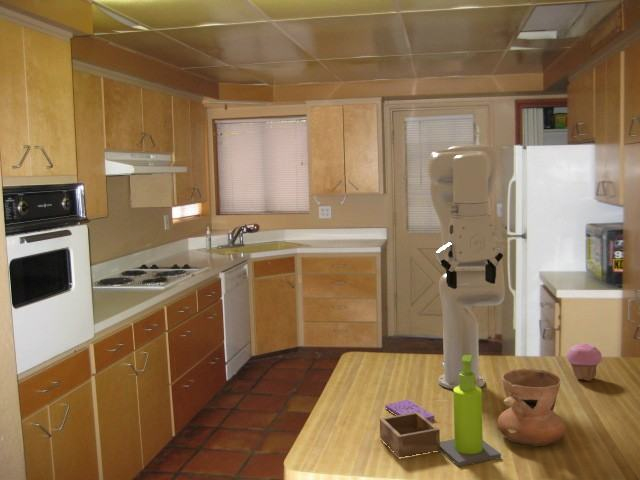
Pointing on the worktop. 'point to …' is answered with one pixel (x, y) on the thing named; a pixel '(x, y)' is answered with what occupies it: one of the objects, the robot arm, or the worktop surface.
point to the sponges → (408, 409)
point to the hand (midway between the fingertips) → (471, 284)
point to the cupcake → (584, 360)
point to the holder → (409, 434)
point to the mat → (465, 459)
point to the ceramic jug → (531, 407)
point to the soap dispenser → (468, 411)
